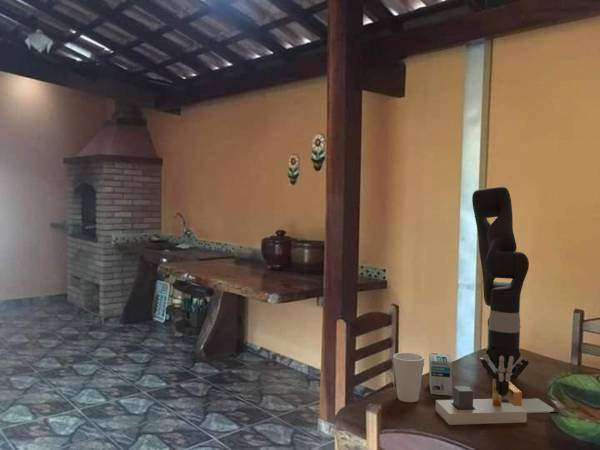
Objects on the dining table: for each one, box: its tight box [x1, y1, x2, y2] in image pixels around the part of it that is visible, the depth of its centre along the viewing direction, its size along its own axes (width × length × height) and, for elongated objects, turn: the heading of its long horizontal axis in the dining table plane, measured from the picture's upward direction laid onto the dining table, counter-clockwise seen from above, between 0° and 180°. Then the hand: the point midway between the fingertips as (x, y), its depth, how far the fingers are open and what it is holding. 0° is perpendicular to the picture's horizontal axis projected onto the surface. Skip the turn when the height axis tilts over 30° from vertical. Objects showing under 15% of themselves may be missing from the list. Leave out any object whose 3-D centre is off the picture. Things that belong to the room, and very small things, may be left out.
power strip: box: [435, 396, 528, 426], centre depth 140 cm, size 10×22×4 cm, turn 96°
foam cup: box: [392, 352, 425, 403], centre depth 153 cm, size 10×9×13 cm
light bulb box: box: [428, 352, 453, 397], centre depth 162 cm, size 11×7×11 cm, turn 168°
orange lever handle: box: [491, 372, 523, 406], centre depth 134 cm, size 2×16×9 cm, turn 177°
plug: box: [452, 385, 474, 410], centre depth 140 cm, size 4×4×8 cm
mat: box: [520, 398, 555, 414], centre depth 148 cm, size 10×10×1 cm
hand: (501, 394), depth 129 cm, fingers closed
